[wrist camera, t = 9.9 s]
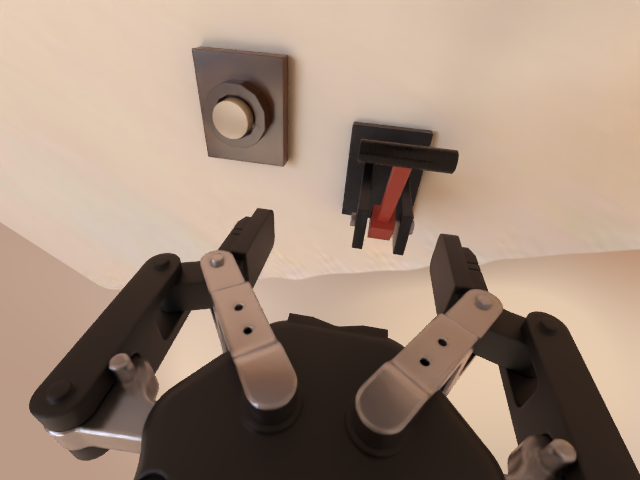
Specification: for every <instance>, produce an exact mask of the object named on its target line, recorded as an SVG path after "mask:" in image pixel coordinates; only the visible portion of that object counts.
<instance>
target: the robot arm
mask: <svg viewBox="0 0 640 480" xmlns="http://www.w3.org/2000/svg"><path fill="white" fill-rule="evenodd" d="M274 238H275V233H274V213H273V210H267V209H260V208H257V209H256V211H255V212H254V214H253V215H252V217H245V218H243V219H241V220H240V221H238V222H237V224H236V225H235V227H234V229H232V231H231V232H230V234H229V235H228V237H227V238H226V239H225V241H224V242H223V244H222V245H221V246H220V248H219V249H218V250H216V251H212V252H209V253H207V254H205V255H204V256H203V257H202V258H201V260H200V261H197V262H185V263H181V261H180V258H179V257H178V256H177V255H175V254H171V253H164V254H159V255H156V256H154V257H152V258H150V259H149V260H147V261H146V263H145V264H144V265H143V266H142V267H141V268H140V270H139V271H138V272H137V273H136V274H135V275H134V277H133V278H132V279H131V280H130V281H129V282H128V284H127V285H126V286H125V287H124V288H123V289H122V291H121V292H120V293H119V294H118V295H117V296H116V298H115V299H114V300H113V301H112V302H111V303H110V305H109V306H108V307H107V308H106V309H105V310H104V312H103V313H102V314H101V315H100V316H99V317H98V319H97V320H96V321H95V322H94V323H93V324H92V326H91V327H90V328H89V329H88V330H87V331H86V333H85V334H84V335H83V336H82V337H81V338H80V340H79V341H78V342H77V343H76V344H75V345H74V346H73V348H72V349H71V350H70V351H69V352H68V353H67V355H66V356H65V357H64V358H63V359H62V360H61V362H60V363H59V364H58V365H57V366H56V367H55V369H54V370H53V371H52V372H51V373H50V374H49V376H48V377H47V378H46V379H45V380H44V382H43V383H42V384H41V385H40V386H39V387H38V389H37V390H36V391H35V392H34V394H33V396H32V397H31V400H30V404H29V409H30V412H31V413H32V414H33V416H34V417H36V419H38V421H39V422H41V424H43V425H44V428H45V430H46V431H47V432H48V433H49V434H50V435H51V436H52V437H53V438H54V439H55V440H56V441H57V442H58V443H59V444H60V445H61V446H62V447H64V448H65V449H67V450H69V451H70V452H71V453H72V454H73V455H74V456H75V457H76V458H77V459H79V460H86V461H87V460H92V459H95V458H98V457H99V456H101V455H103V454H105V453H106V452H107V451H108V450H109V449H113V450H119V451H126V452H132V453H139V454H140V459H139V463H138V468H137V471H136V474H135V477H134V480H640V474H639V472H638V470H637V468H636V466H635V464H634V462H633V460H632V458H631V455H630V454H629V451H628V449H627V447H626V445H625V443H624V441H623V439H622V437H621V436H620V433H619V431H618V429H617V427H616V425H615V423H614V421H613V419H612V417H611V415H610V413H609V411H608V409H607V407H606V405H605V403H604V401H603V399H602V397H601V395H600V393H599V391H598V389H597V387H596V385H595V383H594V381H593V379H592V376H591V374H590V372H589V370H588V368H587V367H586V364H585V362H584V360H583V358H582V356H581V354H580V352H579V350H578V348H577V346H576V344H575V342H574V340H573V338H572V336H571V334H570V332H569V330H568V328H567V327H566V326H565V325H564V324H563V323H562V322H561V321H560V320H558V319H557V318H555V317H554V316H552V315H549V314H547V313H543V312H531V313H529V314H528V316H527V317H526V318H524V317H522V316H519V315H516V314H514V313H511V312H509V311H507V310H505V309H503V306H502V303H501V301H500V300H499V299H498V298H497V297H496V296H494V295H493V294H491V293H489V292H488V289H487V286H486V284H485V281H484V278H483V275H482V273H481V272H480V267H479V265H478V261H477V259H476V256H475V255H474V254H473V253H472V251H471V250H470V249H469V248H465V247H462V246H461V243H460V240H459V237H458V236H456V235H448V234H440V236H439V238H438V241H437V244H436V247H435V250H434V253H433V256H432V259H431V263H430V275H431V281H432V287H433V294H434V299H435V306H436V312H437V316H436V317H435V318H434V319H433V320H432V321H431V322H430V323H429V324H428V325H427V326H426V327H425V328H424V329H423V330H422V331H421V332H420V333H419V334H418V335H417V336H416V337H415V338H414V339H413V340H412V341H411V342H410V343H409V344H408V345H407V346H406V347H403V346H402V345H401V344H399V343H397V342H396V341H394V340H392V339H390V338H388V330H386V329H380V328H374V327H368V326H343V327H338V326H334V325H332V324H329V323H327V322H324V321H322V320H319V319H316V318H314V317H309V316H303V315H298V314H292V313H290V314H289V317H288V320H287V321H279V322H275V323H272V324H269V322H268V320H267V318H266V316H265V314H264V312H263V310H262V308H261V306H260V304H259V301H258V299H257V297H256V295H255V293H254V291H253V287H254V285H255V283H256V281H257V279H258V277H259V275H260V273H261V271H262V269H263V267H264V264H265V262H266V260H267V258H268V256H269V254H270V252H271V250H272V248H273V245H274ZM208 308H209V309H210V310H211V313H212V316H213V320H214V323H215V326H216V329H217V332H218V336H219V339H220V342H221V346H222V350H223V354H221V355H220V356H218V357H217V358H215V359H214V360H212V361H211V362H209V363H208V364H206V365H205V366H203V367H202V368H200V369H199V370H197V371H196V372H194V373H193V374H191V375H190V376H188V377H187V378H185V379H184V380H182V381H181V382H179V383H178V384H176V385H175V386H173V387H172V388H171V389H169V390H168V391H167V392H166V393H164V394H163V395H162V396H161V398H160V399H159V400H158V401H155V398H156V395H157V393H158V389H159V383H158V380H157V378H156V376H155V373H156V371H157V369H158V368H159V366H160V364H161V362H162V361H163V359H164V357H165V355H166V354H167V352H168V350H169V348H170V347H171V345H172V343H173V341H174V339H175V338H176V336H177V334H178V333H179V331H180V329H181V327H182V326H183V324H184V322H185V320H186V319H187V317H188V315H189V313H190V312H191V310H200V309H208ZM476 356H480V357H482V358H485V359H486V360H489V361H491V362H493V363H496V364H498V366H499V370H500V374H501V378H502V382H503V386H504V390H505V394H506V398H507V402H508V406H509V410H510V414H511V419H512V423H513V427H514V431H515V434H516V439H517V443H518V447H517V448H516V449H515V450H514V451H513V452H512V453H511V454H510V456H509V458H508V474H507V475H506V474H503V472H502V470H501V468H500V466H499V464H498V462H497V461H496V459H495V457H494V456H493V455H492V453H491V452H490V451H489V449H488V448H487V447H486V446H485V445H484V443H483V442H482V441H481V439H480V438H479V437H478V436H477V435H476V433H475V432H474V431H473V429H472V428H471V427H470V426H469V424H468V423H467V422H466V421H465V419H464V418H463V417H462V416H461V414H460V413H459V412H458V411H457V410H456V408H455V407H454V406H453V405H452V403H451V402H450V401H449V400H448V398H447V397H446V396H447V395H448V393H449V392H450V390H451V389H452V387H453V386H454V384H455V383H456V382H457V380H458V379H459V378H460V376H461V375H462V374H463V372H464V371H465V370H466V369H467V367H468V366H469V365H470V363H471V362H472V361H473V359H474V358H475V357H476Z"/></svg>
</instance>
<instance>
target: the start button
mask: <svg viewBox="0 0 640 480" xmlns="http://www.w3.org/2000/svg"><path fill="white" fill-rule="evenodd" d="M212 118H213V123H214V125H215V127H216V129H217V130H218V131H219V132H220V133H221V134H222V135H223V136H225V137H227V138H229V139H239V138H241V137H243V136H244V135H245V134H246V133H247V132H248V131H249V130H250V129H251V128H252V125H253V114H252V111H251V109H250V107H249V106H248V105H247V104H246V103H245V102H244V101H243V100H241V99H239V98H235V97H230V98H227V99H225V100H223V101H221V102H219V103H218V104H217V105H216V106H215V107H214V110H213V114H212Z"/></svg>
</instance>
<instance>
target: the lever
mask: <svg viewBox="0 0 640 480" xmlns="http://www.w3.org/2000/svg"><path fill="white" fill-rule="evenodd" d="M458 157H459V154H458V151H457V150H450V149H442V148H434V147H425V146H417V145H409V144H400V143H392V142H384V141H376V140H367V139H361V142H360V148H359V155H358V162H363V163H371V164H379V165H387V166H393V168H392V171H391V174H390V177H389V180H388V183H387V187H386V190H385V193H384V196H383V199H382V202H381V206H380V205H373V208H372V212H371V216H370V223H369V230H368V237H369V238H376V239H383V240H390V238H391V236H392V234H393V232H394V227H395V218H396V209H397V208H395V207H396V205H397V203H398V200H399V198H400V196H401V193H402V191H403V189H404V186H405V184H406V182H407V179H408V177H409V175H410V172H411V170H412V169H418V170H426V171H434V172H441V173H449V174H452V173H453V172H454V171H455V169H456V166H457V163H458Z"/></svg>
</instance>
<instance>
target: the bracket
mask: <svg viewBox="0 0 640 480" xmlns="http://www.w3.org/2000/svg"><path fill="white" fill-rule="evenodd" d="M432 137H433V133H432V131H429V130H420V129H412V128H403V127H394V126H386V125H377V124H368V123H360V122H354V123H353V127H352V136H351V144H350V152H349V160H348V168H347V176H346V184H345V193H344V201H343V209H342V214H347V215H352V216H351V222H350V226H355V230H354V236H353V243H352V248H358V249H362V246H363V240H364V235H365V229H366V224H367V218H370V216H371V212H372V208H373V205H380V206H381V202H382V199H383V196H384V193H385V190H386V187H387V183H388V180H389V177H390V174H391V171H392V168H393V166H387V165H379V164H371V163H363V162H358V155H359V148H360V142H361V139H367V140H376V141H384V142H392V143H400V144H409V145H417V146H425V147H430V144H431V140H432ZM422 173H423V170H418V169H412V170H411V172H410V175H409V177H408V179H407V182H406V184H405V186H404V189H403V191H402V193H401V196H400V198H399V200H398V203H397V205H396V207H395V208H397V209H396V218H395V227H394V232H393V254H398V255H403V254H404V250H405V247H406V243H407V240H408V236H409V234H410V235H411V234H412V233H413V229H414V220H413V219H414V216H413V205H414V202H415V198H416V195H417V191H418V187H419V184H420V180H421V176H422Z"/></svg>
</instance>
